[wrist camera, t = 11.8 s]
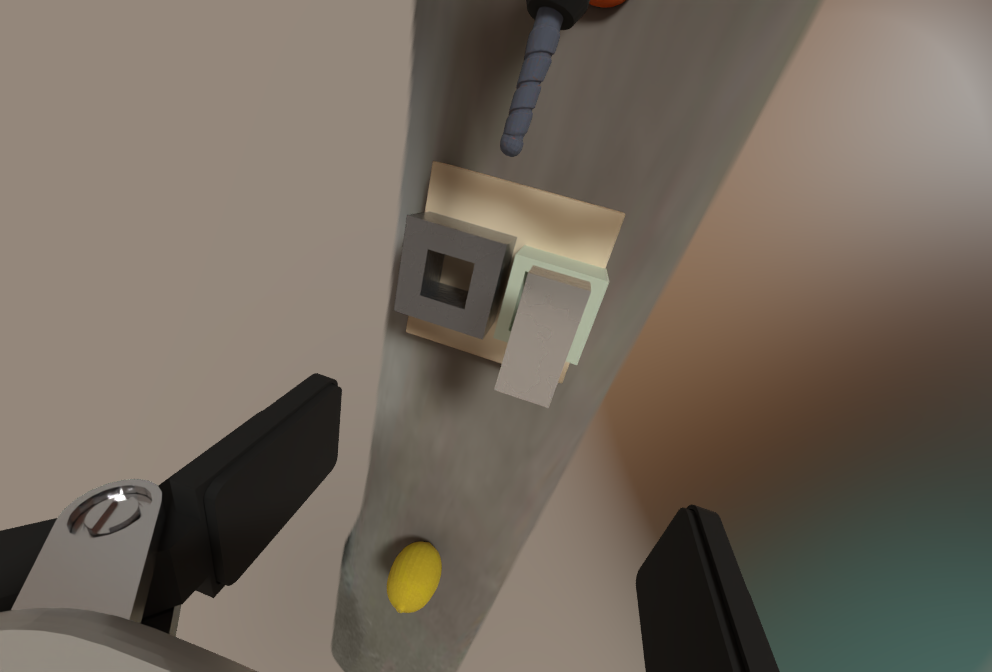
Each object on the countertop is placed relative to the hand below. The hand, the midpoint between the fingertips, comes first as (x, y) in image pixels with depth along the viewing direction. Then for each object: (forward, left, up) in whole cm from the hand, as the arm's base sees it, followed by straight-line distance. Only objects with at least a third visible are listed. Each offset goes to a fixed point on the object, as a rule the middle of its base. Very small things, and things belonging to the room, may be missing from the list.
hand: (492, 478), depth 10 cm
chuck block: (-4, -6, -21) cm, 22 cm away
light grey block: (+1, 0, -21) cm, 21 cm away
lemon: (+26, -25, -23) cm, 42 cm away
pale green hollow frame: (+1, 0, -21) cm, 21 cm away
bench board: (-2, -4, -23) cm, 23 cm away
